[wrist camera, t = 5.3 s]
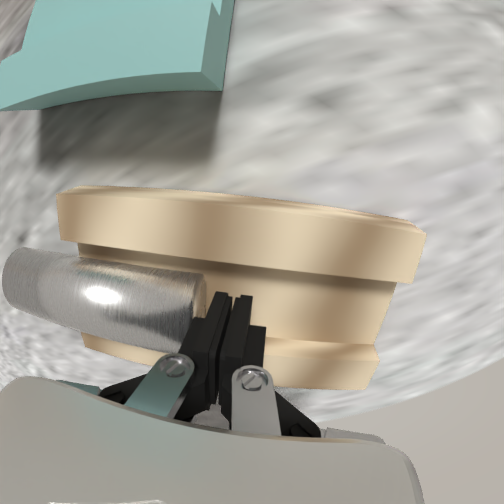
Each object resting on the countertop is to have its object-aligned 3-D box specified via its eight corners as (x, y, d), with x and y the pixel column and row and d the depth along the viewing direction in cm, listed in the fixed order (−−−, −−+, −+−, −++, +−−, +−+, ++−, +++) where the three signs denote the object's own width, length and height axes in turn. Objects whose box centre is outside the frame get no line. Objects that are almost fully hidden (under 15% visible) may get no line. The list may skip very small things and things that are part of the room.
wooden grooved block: (407, 220, 13) (427, 234, 11) (358, 364, 17) (365, 389, 15) (81, 185, 14) (56, 194, 12) (100, 327, 18) (85, 346, 15)
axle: (205, 257, 14) (181, 314, 10) (207, 317, 16) (190, 374, 12) (32, 235, 14) (-7, 269, 11) (48, 285, 16) (17, 321, 13)
